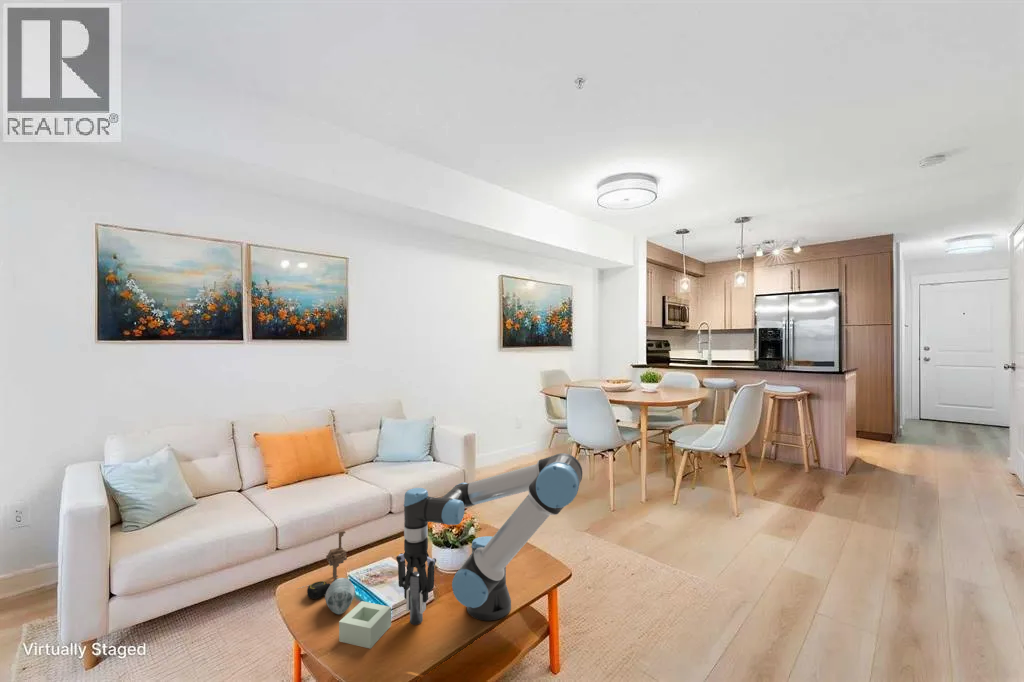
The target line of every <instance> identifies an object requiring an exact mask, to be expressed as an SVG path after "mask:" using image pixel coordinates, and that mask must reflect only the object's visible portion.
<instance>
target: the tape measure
mask: <svg viewBox="0 0 1024 682" xmlns="http://www.w3.org/2000/svg"><path fill="white" fill-rule="evenodd" d="M331 584H332V583H329V582H328V583H327V581H324V580H321V581H316V582H313V583H311V585H310V584H309V585H310V586H309V585H308V586H307V597H308V598H309V599H313V600H317V599H319V598H321V597H323V596H325V595H326V591H327V589H328V588H329V586H330V585H331Z"/></svg>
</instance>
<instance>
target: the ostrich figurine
mask: <svg viewBox="0 0 1024 682" xmlns="http://www.w3.org/2000/svg"><path fill="white" fill-rule="evenodd" d="M344 534H346V531H345V530H340V531H338V547H335V548H332V549H330V550H329V551H328V553H327V554H326V556H325V558H326V560H327V561H328V564H329V567H331V566H332V578H333V582H334V581H335V580H336V579H338V578H339V575H338V574H337V568H338V567H340V564H344V562H345V561H347V560H348V557H347V551H346V549H343V547H342V537H344ZM311 584H312V583H311ZM311 584H309V585H308V587H309V586H310V585H311ZM301 588H305V585H303V586H302V587H301ZM297 589H300V587H298V588H297Z"/></svg>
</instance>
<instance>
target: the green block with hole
mask: <svg viewBox="0 0 1024 682" xmlns="http://www.w3.org/2000/svg"><path fill="white" fill-rule="evenodd" d="M391 627H392V606H389V605H383V604H379V603H374V602H373V603H372V602H369V601H362V600H361V601H360V602H359V603H358V604H356V605H355V607H354V608H352V609H351V610H350V611H349V612H348V613H347V614H345V616H343V618H341V619H340V620H339V621H338V640H339V641H338V642H341V643H344V644H350V645H353V646H358V647H362V648H366V649H370V650H371V649H372V648H373V647H374V646H375V644H376V643H377V642H378V641H379V640H380V639H381V637H382V636H384V634H385V633H386V632H387V631H388V630H389V629H390V628H391Z"/></svg>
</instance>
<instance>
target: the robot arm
mask: <svg viewBox="0 0 1024 682" xmlns="http://www.w3.org/2000/svg"><path fill="white" fill-rule="evenodd" d="M582 478H583V467H582V465H581V463H580V462H579V460H578V459H577V457H575V456H574V455H572V454H570V453H565V452H563V453H562V452H561V453H557V454H556V453H555V454H554V455H551V456H548V457H545V458H541V459H539V460H537V462H536V464H532V465H528V466H525V467H521V468H518V469H514V470H510V471H507V472H504V473H500V474H496V475H493V476H490V477H485V478H481V479H479V480H475V481H472V482H469V483H468V482H461V483H458V484H456V485H455V486H454V487H453V488H452V489H451V490H448V492H447V493H446V494H444V495H443V496H442V497H433V496H429V493H428V492H429V491H428V490H427V489H426V488H423V487H415V488H414V487H413V488H410V489H408V490H406V492H404V499H403V500H404V502H403V507H404V508H403V510H404V512H403V514H404V515H403V517H404V518H403V519H404V520H403V521H404V522H403V523H404V524H403V526H404V527H403V539H404V540H403V543H404V545H403V549H404V550H403V551H404V552H403V553H399V554H398V555H397V556H396V561H397V573H398V576H397V577H398V587H399V588H403V590H404V592H403V593H404V594H403V595H404V599H405V600H406V612H410V575H411V574H412V573H413V572H414V569H416V572H419V578H420V583H421V588H422V591H421V592H420V613H421V614H422V613H424V612H425V611H426V610H427V601H428V600H429V593H430V592H431V591H432V590H433V589H434V588H435V565H436V563H437V559H436V558H431V557H430V556H429V553H428V552H429V551H428V550H429V549H428V547H429V539H428V538H429V537H428V536H429V533H428V532H429V530H428V528H429V526H428V524H429V523H434V524H435V523H436V524H442V525H443V524H444V525H447V526H448V525H449V526H451V525H460V524H461V523H462V522H463V519H464V516H465V509H466V508H469V507H472V506H476V505H479V504H480V505H481V504H483V503H488V502H492V501H495V500H496V501H497V500H498V499H503V498H506V497H510V496H514V495H519V494H521V493H527V492H528V494H527V496H526V497H525V498H524V499H523V500H522V502H521V503H520V504H519V505H517V507H516V509H515V510H514V511H513V512H512V514H511V515H510V516H509V517H508V518H507V519H506V520H505V522H504V523H503V525H501V527H499V529H498V530H497V531H496V533H495V534H494V535H493V536H491V535H490V536H489V535H487V536H485V535H484V536H479V537H476V538H474V539H473V540H472V542H471V546H470V548H471V552H470V553H471V554H470V555H469V556H468V557H467V559H466V560H465V561H464V563H463V564H462V565H461V567H460V568H459V569H458V570H457V571H456V572H455V574H454V576H453V578H452V582H451V587H452V588H451V589H452V593H453V596H454V597H455V599H456V600H457V601H458V602H459V603H460V604H461V605H462V606H465V607H466V611H467V613H468V614H469V615H470V616H471V617H472V618H473V619H477V620H480V621H486V622H491V621H496V620H500V619H502V618H504V617H505V616H507V615H508V614H509V613H510V611H511V609H512V598H511V595H510V592H509V589H508V586H507V566H508V565H509V563H510V562H511V561H512V560H513V559H514V558H515V556H517V554H518V553H519V552H520V550H522V548H523V547H524V546H525V545H526V544H527V542H528V541H529V540H530V539H531V538H532V537H533V536H534V534H535V533H536V532H537V531H538V529H539V528H540V527H541V526H542V525H543V524H544V523H545V521H546V520H547V519H548V518H549V517H550V516H557V515H559V513H561V511H562V510H563V509H564V508H565V507H566V506H569V504H571V503H572V502H573V501H574V500H575V498H576V497H577V496H578V495H577V494H578V491H579V490H580V489H579V487H580V485H581V482H582ZM406 563H407V564H406ZM426 567H427V569H426Z"/></svg>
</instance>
